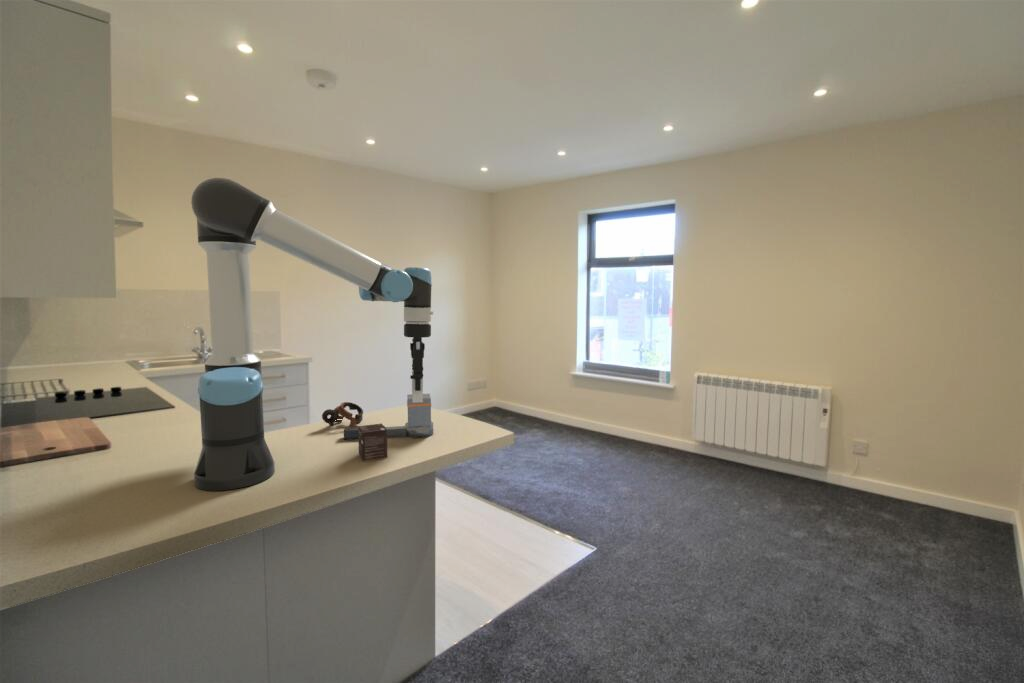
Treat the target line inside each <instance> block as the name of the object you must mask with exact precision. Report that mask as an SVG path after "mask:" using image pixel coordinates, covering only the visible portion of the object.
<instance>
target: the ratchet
mask: <svg viewBox="0 0 1024 683" xmlns="http://www.w3.org/2000/svg"><path fill="white" fill-rule="evenodd" d="M385 428H386V429H387V438H397V437H407V438H411V439H422V438H428V437H432V436H433V435H434V422H433V421H431V426H423V427H408V421H407V422H406V423H405V424H404V425H401V426H400V425H399V426H385ZM353 440H359V437H358V426H355V427H349V426H348V427H344V429H343V441H353Z"/></svg>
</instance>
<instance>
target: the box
mask: <svg viewBox="0 0 1024 683" xmlns="http://www.w3.org/2000/svg"><path fill="white" fill-rule="evenodd" d="M357 427H358V437H359V439H358V455H359V457H360V459H361V461H362V462H368V461H374V460H382V459H387V458H388V437H387V429H386V428H385V427H386V426H385V425H383V423H374V424H367V425H358V426H357Z"/></svg>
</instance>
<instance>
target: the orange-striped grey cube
mask: <svg viewBox="0 0 1024 683" xmlns="http://www.w3.org/2000/svg"><path fill="white" fill-rule="evenodd" d="M431 400H432V399H431V393H423V402H413V393H412V394H407V399H406V407H407V422H408V427H423V426H431V422H432V401H431Z"/></svg>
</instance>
